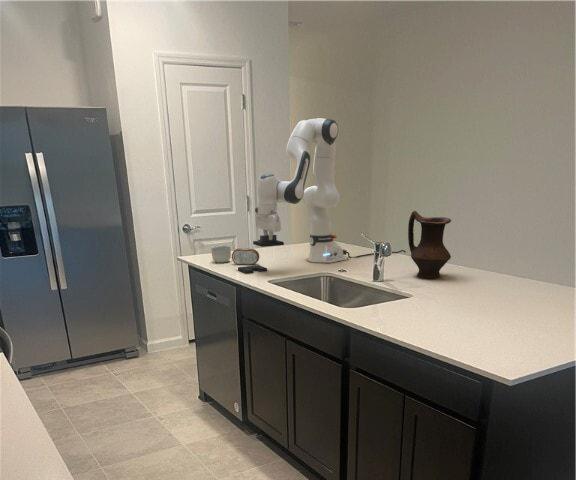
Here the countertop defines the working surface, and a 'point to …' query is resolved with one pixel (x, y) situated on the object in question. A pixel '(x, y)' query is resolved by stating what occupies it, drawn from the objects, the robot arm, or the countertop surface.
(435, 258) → the jug
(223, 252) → the teacup
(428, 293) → the countertop surface
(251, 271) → the base pad
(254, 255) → the tin
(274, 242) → the loose pad
